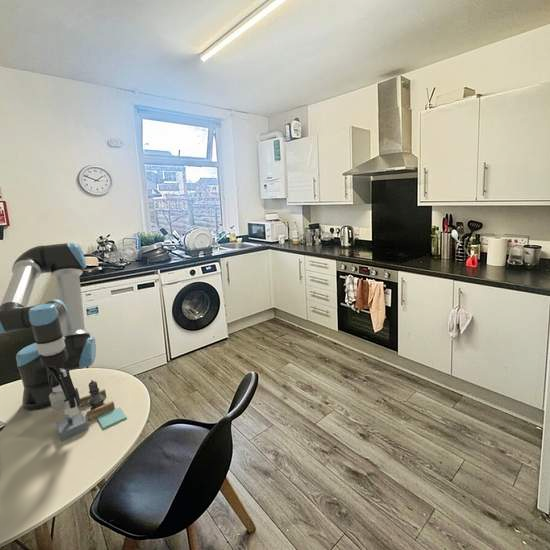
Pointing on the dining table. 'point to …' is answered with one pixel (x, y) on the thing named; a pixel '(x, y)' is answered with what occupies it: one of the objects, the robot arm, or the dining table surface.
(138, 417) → the dining table surface
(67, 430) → the block
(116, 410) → the coaster
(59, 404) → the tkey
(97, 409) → the block
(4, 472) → the dining table surface
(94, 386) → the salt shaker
